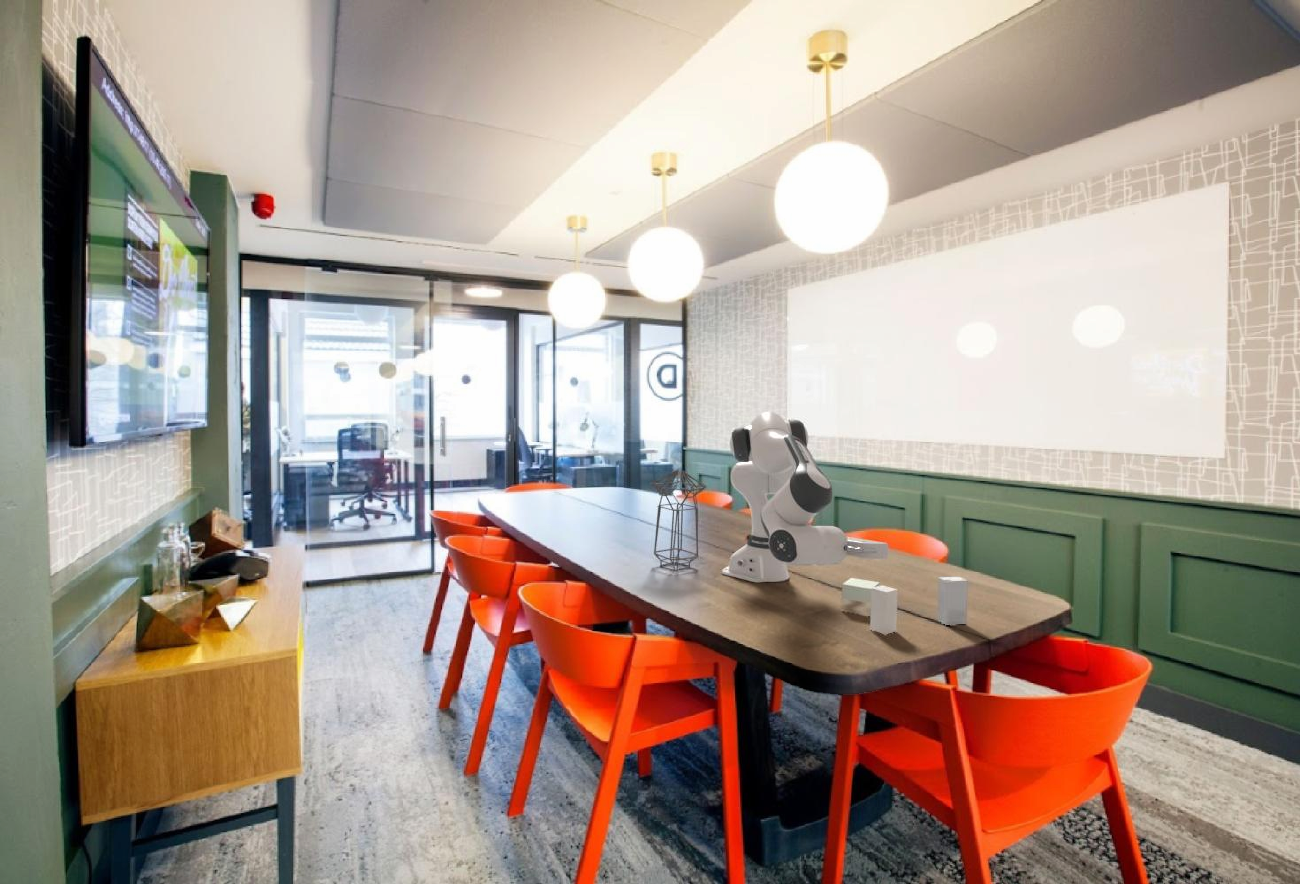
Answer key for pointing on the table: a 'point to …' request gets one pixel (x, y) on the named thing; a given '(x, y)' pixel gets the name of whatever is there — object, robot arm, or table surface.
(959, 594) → the skincare box
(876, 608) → the tall grey block
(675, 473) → the geometric lantern
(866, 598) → the sage block
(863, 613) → the ash block
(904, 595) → the table surface
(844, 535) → the robot arm
